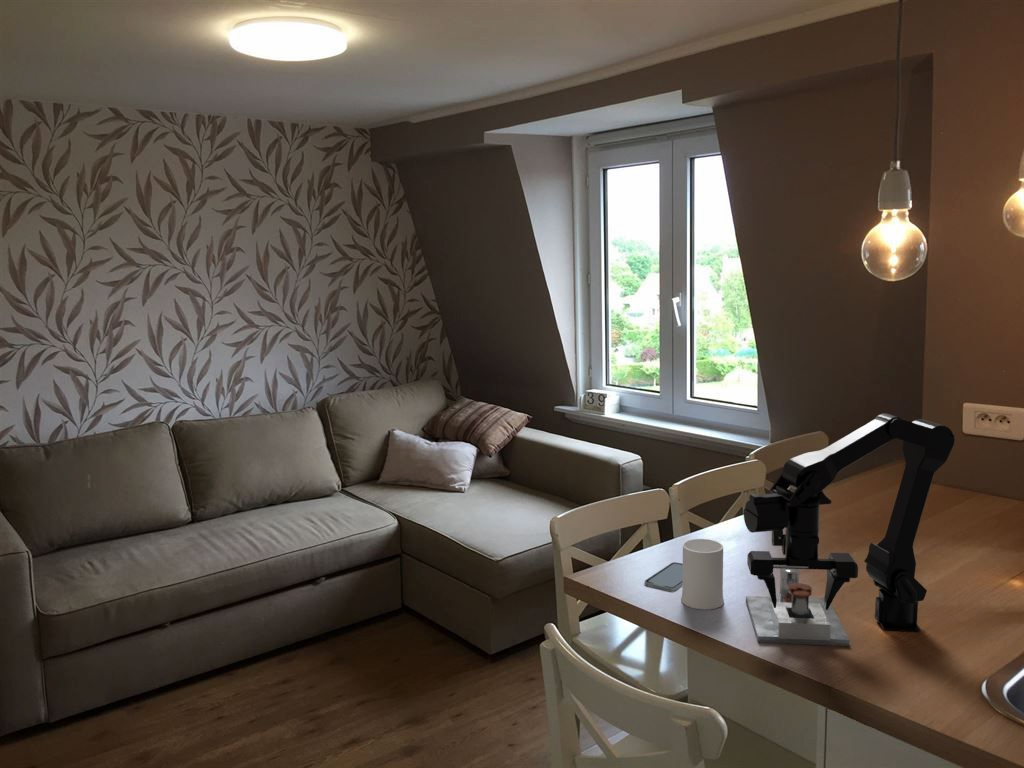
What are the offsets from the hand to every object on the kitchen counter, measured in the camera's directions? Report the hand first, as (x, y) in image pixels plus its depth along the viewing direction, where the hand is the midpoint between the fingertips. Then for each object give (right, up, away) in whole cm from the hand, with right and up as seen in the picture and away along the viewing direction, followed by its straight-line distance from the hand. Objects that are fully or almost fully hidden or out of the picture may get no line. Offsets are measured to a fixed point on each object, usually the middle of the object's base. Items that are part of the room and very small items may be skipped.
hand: (800, 607), depth 157 cm
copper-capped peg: (0, -4, +1) cm, 4 cm away
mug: (-14, -3, +18) cm, 23 cm away
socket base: (+1, -4, +6) cm, 7 cm away
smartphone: (-18, -2, +30) cm, 35 cm away
